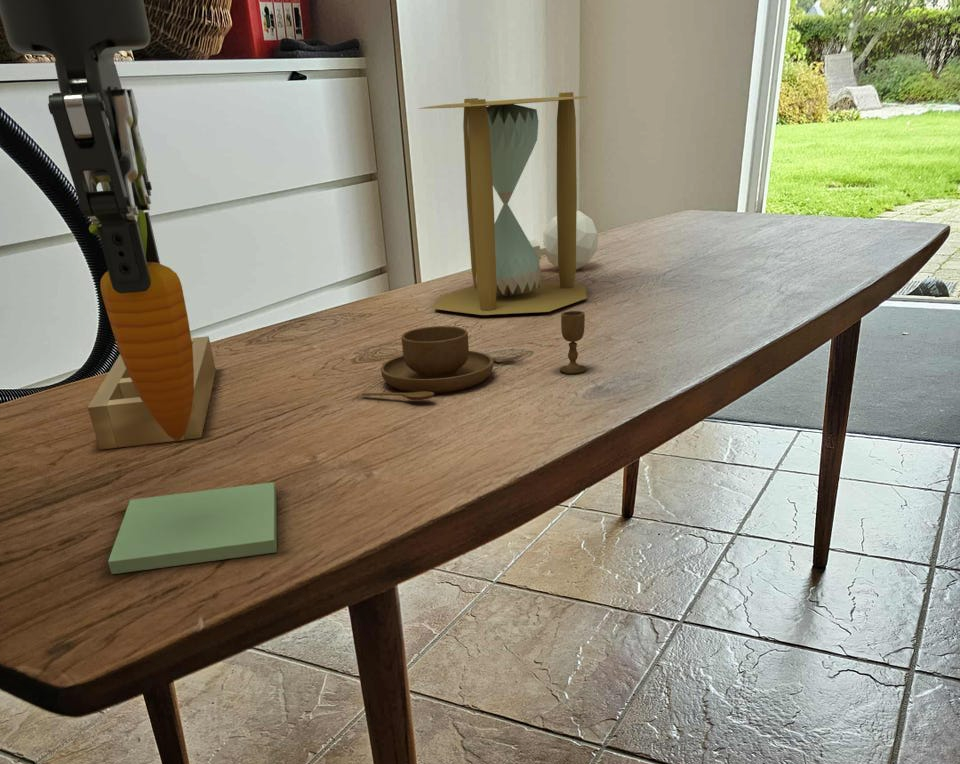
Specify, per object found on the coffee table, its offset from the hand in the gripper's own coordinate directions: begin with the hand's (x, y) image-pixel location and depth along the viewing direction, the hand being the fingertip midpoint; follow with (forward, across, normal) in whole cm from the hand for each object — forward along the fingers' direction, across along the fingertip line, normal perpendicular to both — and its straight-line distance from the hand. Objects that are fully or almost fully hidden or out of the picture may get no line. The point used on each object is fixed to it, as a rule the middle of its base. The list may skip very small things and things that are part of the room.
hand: (139, 281), depth 57 cm
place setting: (+17, -30, +26) cm, 43 cm away
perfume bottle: (+17, -89, +52) cm, 105 cm away
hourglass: (+17, -69, +39) cm, 81 cm away
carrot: (+11, 0, 0) cm, 11 cm away
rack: (+17, -34, -6) cm, 38 cm away
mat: (+17, 0, 0) cm, 17 cm away
